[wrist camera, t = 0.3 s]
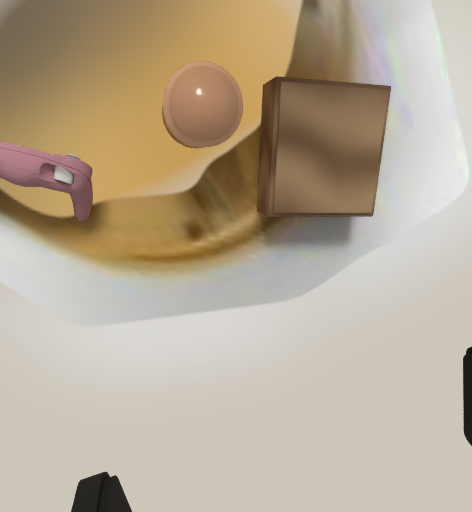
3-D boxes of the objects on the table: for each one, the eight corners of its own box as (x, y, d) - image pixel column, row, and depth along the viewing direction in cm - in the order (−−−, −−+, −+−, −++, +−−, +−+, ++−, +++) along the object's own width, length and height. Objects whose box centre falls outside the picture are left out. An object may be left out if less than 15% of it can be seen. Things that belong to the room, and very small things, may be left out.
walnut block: (263, 85, 34) (277, 75, 30) (366, 93, 36) (392, 85, 32) (256, 210, 37) (269, 217, 33) (352, 210, 39) (374, 216, 35)
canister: (161, 77, 32) (162, 55, 25) (226, 82, 33) (245, 63, 26) (163, 146, 33) (164, 145, 26) (225, 149, 35) (242, 148, 28)
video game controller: (100, 181, 34) (95, 148, 28) (90, 226, 33) (82, 202, 27) (-14, 155, 32) (-50, 112, 25) (-29, 202, 31) (-70, 170, 24)
